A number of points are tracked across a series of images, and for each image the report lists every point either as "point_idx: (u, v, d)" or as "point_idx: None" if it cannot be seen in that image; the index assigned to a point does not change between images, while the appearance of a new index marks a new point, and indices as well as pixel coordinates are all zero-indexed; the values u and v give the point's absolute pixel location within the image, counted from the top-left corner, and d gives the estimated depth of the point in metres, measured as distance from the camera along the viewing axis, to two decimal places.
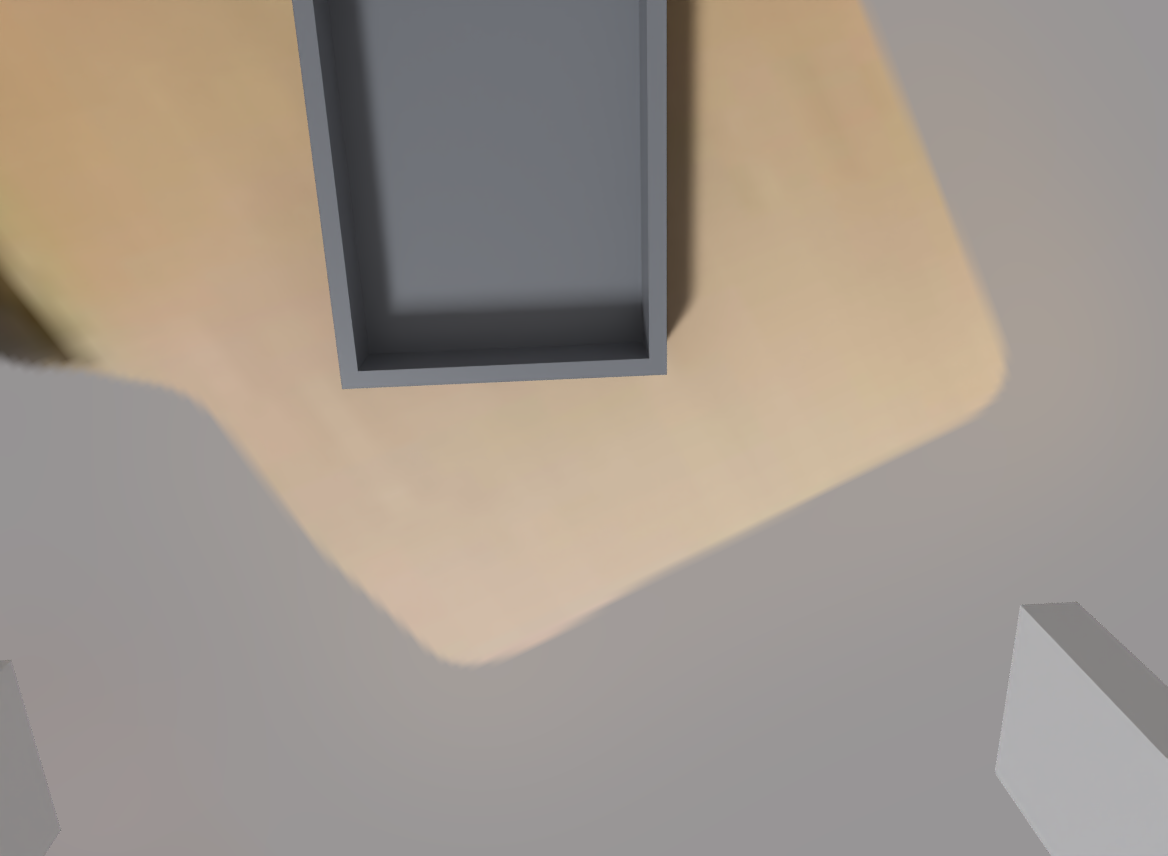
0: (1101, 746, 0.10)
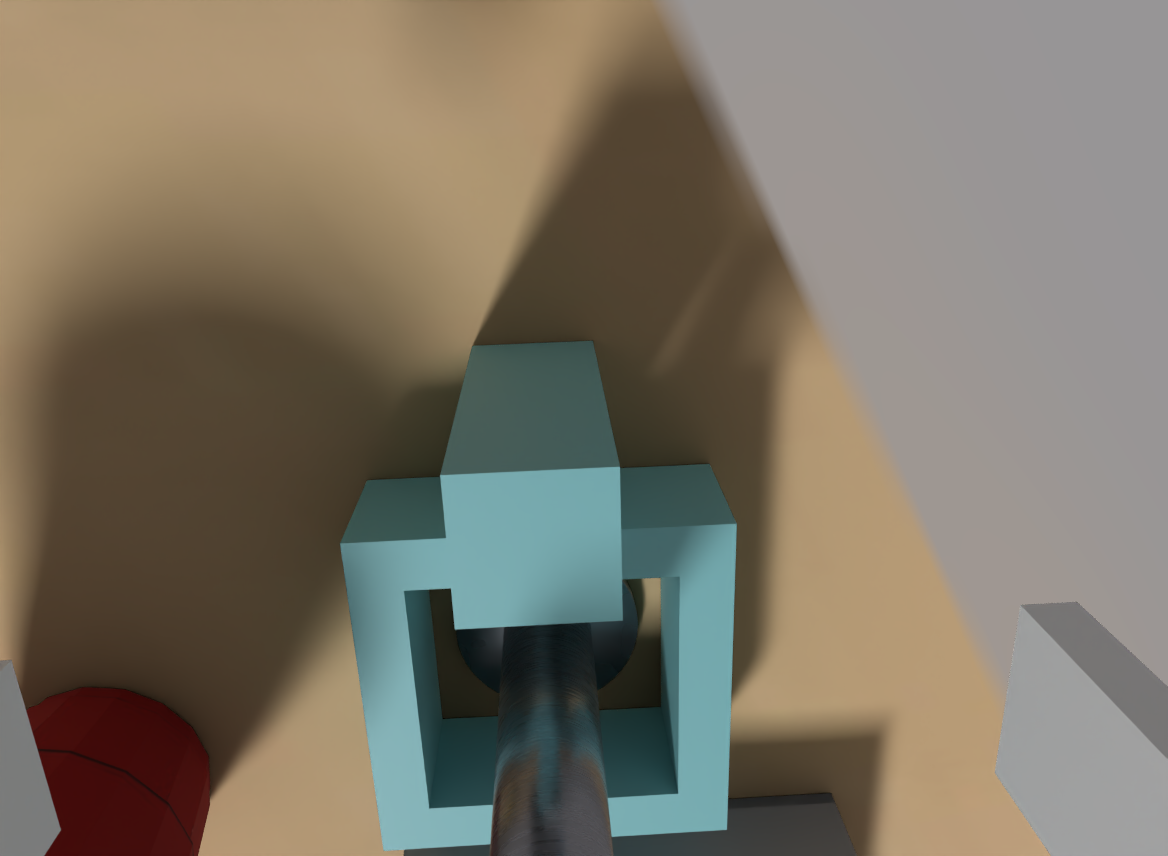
0: (1101, 746, 0.10)
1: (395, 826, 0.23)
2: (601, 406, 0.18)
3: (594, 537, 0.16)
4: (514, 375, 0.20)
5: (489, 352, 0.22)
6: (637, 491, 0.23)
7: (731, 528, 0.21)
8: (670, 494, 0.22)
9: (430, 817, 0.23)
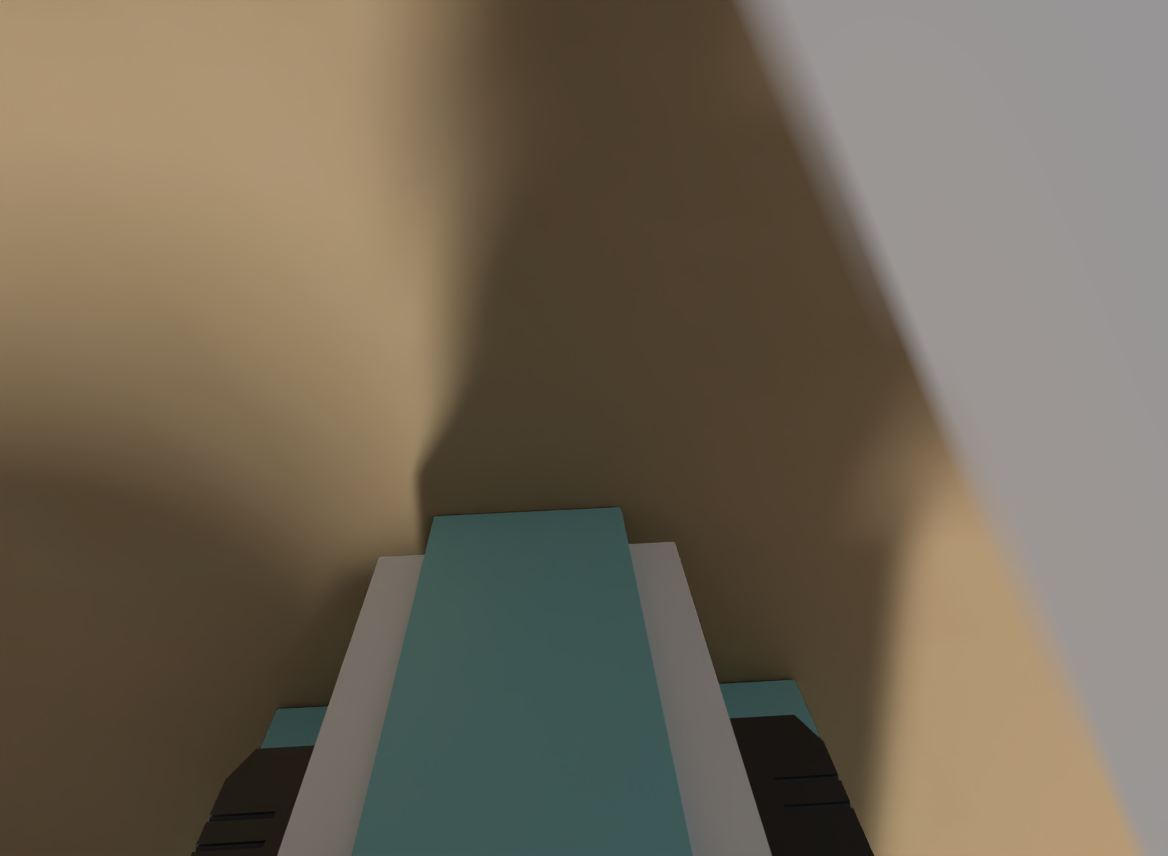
0: None
1: None
2: (649, 699, 0.10)
3: None
4: (496, 597, 0.12)
5: (459, 533, 0.14)
6: None
7: None
8: None
9: None
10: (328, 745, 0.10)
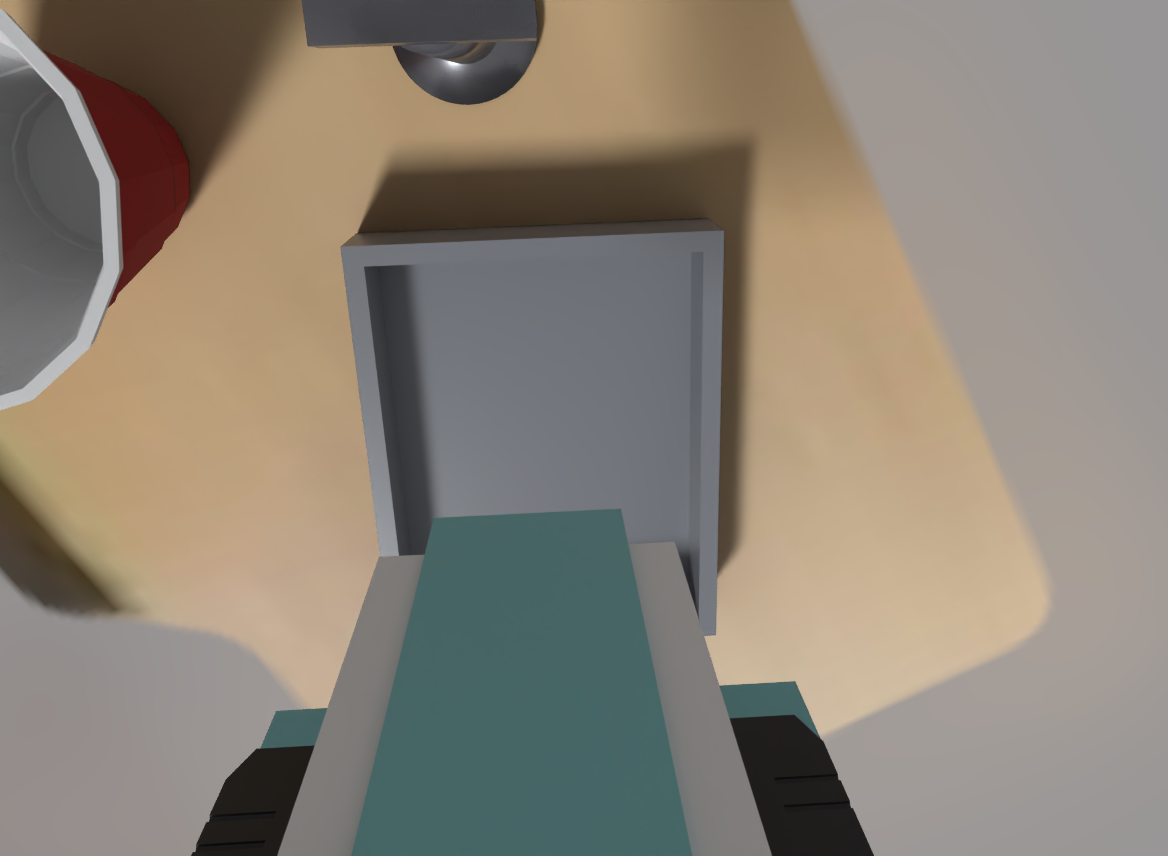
0: None
1: None
2: (649, 701, 0.10)
3: None
4: (495, 599, 0.12)
5: (459, 535, 0.14)
6: None
7: None
8: None
9: None
10: (328, 745, 0.10)
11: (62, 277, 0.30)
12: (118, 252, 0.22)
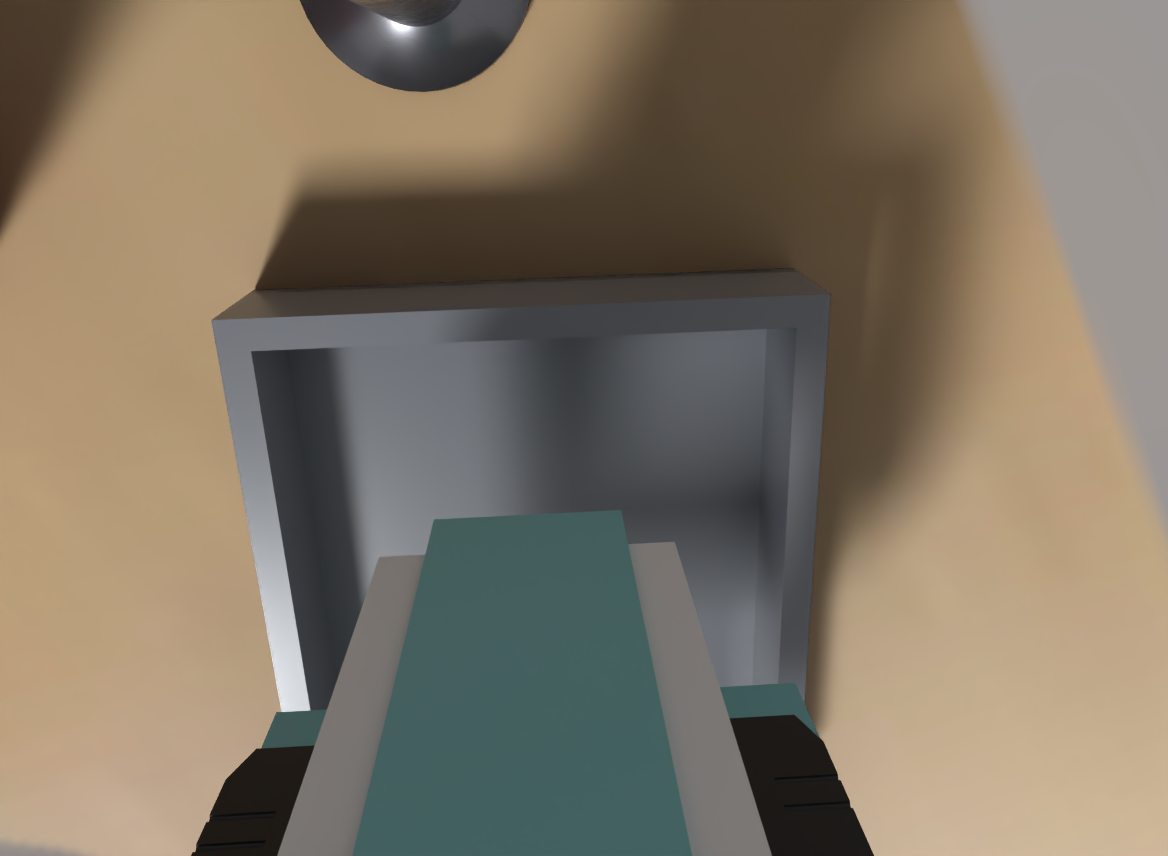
0: None
1: None
2: (649, 704, 0.10)
3: None
4: (496, 601, 0.12)
5: (459, 537, 0.14)
6: None
7: None
8: None
9: None
10: (328, 745, 0.10)
11: None
12: None
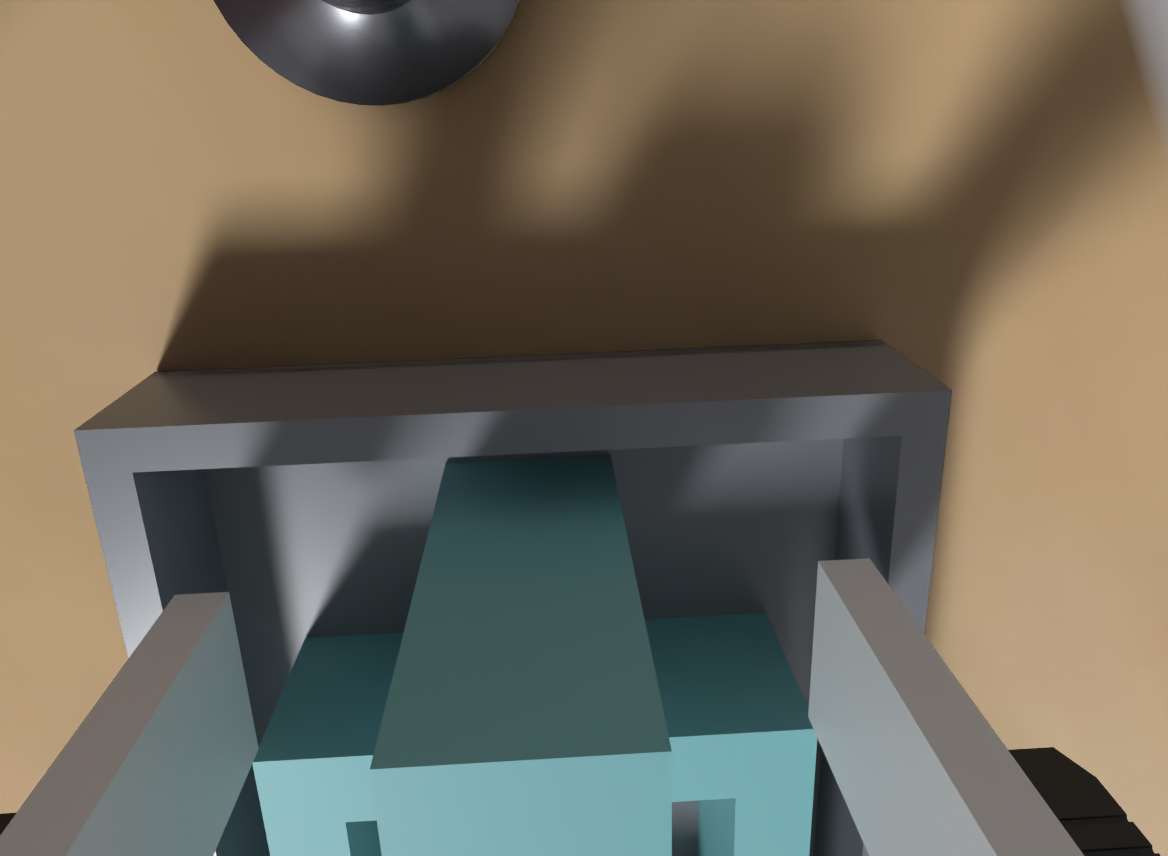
0: (861, 679, 0.11)
1: None
2: (630, 595, 0.12)
3: (627, 855, 0.10)
4: (501, 523, 0.14)
5: (468, 476, 0.16)
6: (672, 663, 0.16)
7: (810, 734, 0.15)
8: (718, 669, 0.16)
9: None
10: (27, 818, 0.09)
11: None
12: None
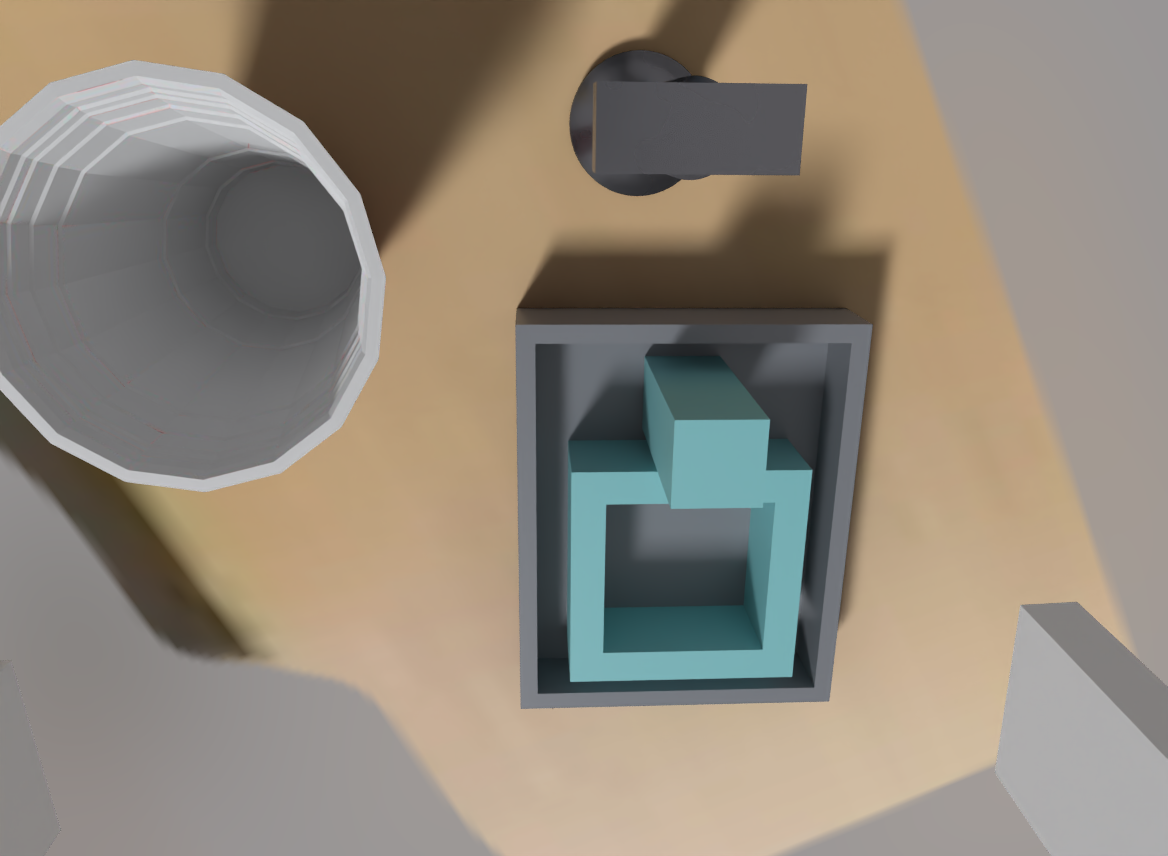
0: (1101, 746, 0.10)
1: (580, 664, 0.36)
2: (744, 391, 0.31)
3: (752, 458, 0.29)
4: (682, 373, 0.33)
5: (658, 360, 0.35)
6: None
7: (809, 472, 0.34)
8: (767, 454, 0.35)
9: (603, 659, 0.36)
10: None
11: (253, 343, 0.32)
12: (379, 341, 0.23)
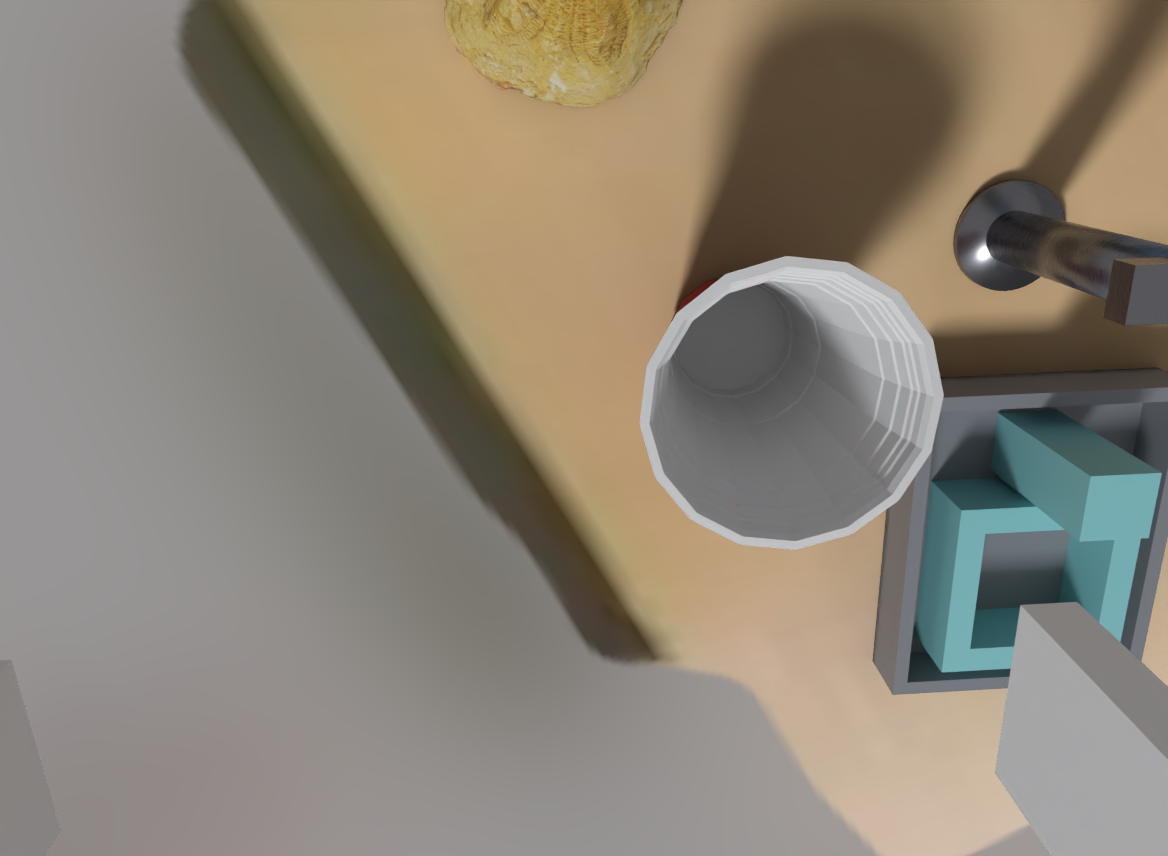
0: (1102, 746, 0.10)
1: (951, 658, 0.46)
2: (1115, 446, 0.40)
3: (1145, 502, 0.38)
4: (1048, 430, 0.42)
5: (1013, 417, 0.44)
6: None
7: None
8: None
9: (969, 654, 0.46)
10: None
11: (726, 422, 0.41)
12: (933, 439, 0.33)
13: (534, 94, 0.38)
